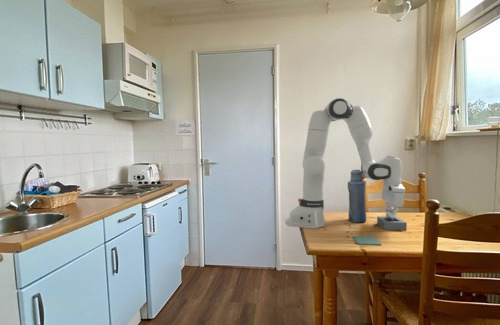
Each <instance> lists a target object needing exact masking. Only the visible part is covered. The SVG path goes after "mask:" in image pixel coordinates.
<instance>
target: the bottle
mask: <svg viewBox="0 0 500 325" xmlns="http://www.w3.org/2000/svg"><path fill="white" fill-rule="evenodd" d="M362 176H363V174H362V172H361V169H351V171H350V180H349V181H347V190H348V212H347V213H348V221H350V222H353V223H365V222H366V221H367V213H366V212H367V211H366V181H364V180H363V177H362Z"/></svg>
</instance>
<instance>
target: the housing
mask: <svg viewBox="0 0 500 325" xmlns="http://www.w3.org/2000/svg"><path fill="white" fill-rule="evenodd" d="M376 218H377V219H376V224H377V225H378V226H379V227H380V228H382V229H383V230H387V231H389V230H391V231H392V230H393V231H407V225H408V224H407V222H406V221H405V220H403V219H402V218H400V217H398V216H396V221H387V220H386V216H377V217H376Z"/></svg>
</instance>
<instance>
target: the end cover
mask: <svg viewBox="0 0 500 325" xmlns="http://www.w3.org/2000/svg"><path fill="white" fill-rule="evenodd" d="M384 210H385V217H386V220H387V221H396V217H397V213H396V214H394V213H392V210H393V206H390V207H387V206H385V207H384ZM397 212H399V207H398V208H397Z"/></svg>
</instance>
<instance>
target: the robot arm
mask: <svg viewBox="0 0 500 325" xmlns="http://www.w3.org/2000/svg"><path fill="white" fill-rule="evenodd" d="M341 120H343V121H344V122H345V123H346V125H347V127H348V131H349V133H350V136H351V138H352V140H353V142H354V143H355V145H356V148H357V151H358V152H357V153H358V156H359V158H360V163H361V165H360V166H361V167H360V171H361V172H362V176H364V178H366V179H371V180H374V181H380V180H383V184H382V190H381V199H382V200H383V201H384V202H385V207H391V205H392V207H393V210H392V213H394V214H396V215H397V212H398V211H397V208H398V209H399V208H402V207H404V203H405V193H406V188H405V187H404V185H403V184H402V183H403V181H402V175H403V162H402V159H400V157H397V156H391V155H386V156H385V157H384V158H382V159H380V160H377V161H375V160H374V157H373V154H372V150H371V148H370V141H371V138H372V136H373V129H372V124H371V122H370V119H369V117H368V115H367V113H366V111H365V110H364V108H363V107H362V106H360V105H354V106H353V105H352V104H351V103H349V101H348V100H347V99H344V98H341V97H337V98H335V99H332V100H331V101H330V102H329V103H328V104H327V105H326V106H325V108H324V109H323V110H322V109H321V110H319V109H318V110H315V111H314V112H312V114H311V116H310V120H309V123H308V127H307V129H308V130H307V135H306V142H305V147H304V152H303V158H302V168H303V178H302V179H303V181H302V198H301V197H300V198H298V199H297V202H298V204H299V205H297V206H296V207H294V208H293V209H292V210H291V211H290V212H289V217H288V218H286V219H285V222H284V224H285V226H287V227H293V228H294V227H295V228H300V229H301V228H303V229H304V228H305V229H313V230H314V229H319V228H321V227H325V226H326V221H325V215H324V208H325V207H324V206H325V202H324V180H325V179H324V178H325V168H326V167H325V166H326V165H325V162H324V160H323V159H324V156H325V151H326V147H327V143H328V136H329V131H330V124H331V122H336V121H341Z"/></svg>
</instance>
